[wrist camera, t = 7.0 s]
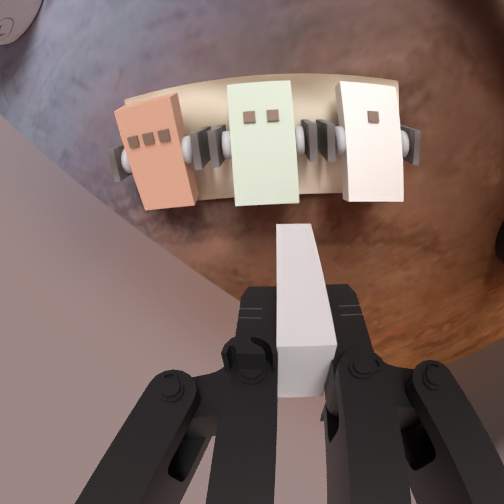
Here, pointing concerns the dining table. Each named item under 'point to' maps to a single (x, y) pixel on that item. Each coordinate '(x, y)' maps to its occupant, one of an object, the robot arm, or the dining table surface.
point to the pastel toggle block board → (305, 114)
